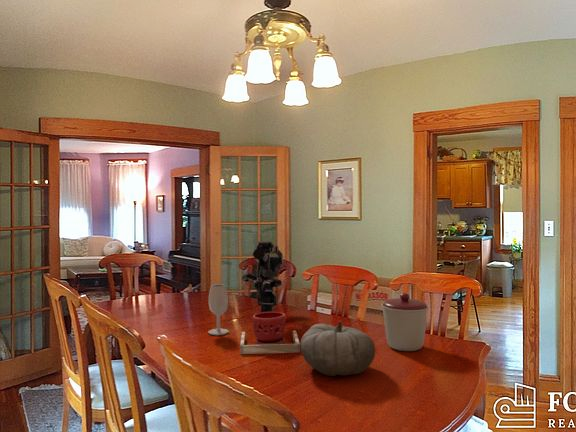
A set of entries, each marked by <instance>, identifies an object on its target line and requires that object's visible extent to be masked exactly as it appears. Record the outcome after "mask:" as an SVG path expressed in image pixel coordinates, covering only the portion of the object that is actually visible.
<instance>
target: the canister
mask: <svg viewBox="0 0 576 432" xmlns="http://www.w3.org/2000/svg"><path fill="white" fill-rule="evenodd" d="M380 306H381V308H382V311H383V315H382V316H383V323H384V330H385V337H386V342H387V345H388V346H389V347H390V348H392V349H393V350H397V351H400V352H416V351H418V350H420V349H422V347H423V345H424V343H425V342H424V341H425V335H426V329H427V318H428V310H429V309H430V305H429V304H427V303H426V302H424V301H422V300H420V299H415V298H414V299H413V298H410V295H409V293H406V292H401V294H400V295H399V298H390V299H387V300H386V299H385V301H383V302H381V304H380Z"/></svg>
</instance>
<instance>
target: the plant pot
mask: <svg viewBox="0 0 576 432" xmlns="http://www.w3.org/2000/svg"><path fill="white" fill-rule="evenodd" d="M252 327H253V332H254V335H255V337H256V339H255V343H256V345H263V344H285V343H284V342H285V341H286V340H285V338H284V337H283V336H284V334H285V330H286V314H285V313H284V312H280V311H274V312H262V313H261V312H258V313H255V314H253V315H252Z"/></svg>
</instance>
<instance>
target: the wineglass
mask: <svg viewBox="0 0 576 432" xmlns="http://www.w3.org/2000/svg"><path fill="white" fill-rule="evenodd" d="M207 299H208V302H207V303H208V307H209V311H210V312H212V314H213V315H215V316H216V328H213V329H211V330H208V331H207V333H208V334H209V335H211V336H222V335H223V336H225V335H227V334H230V331H229V329H227V328H222V327H221V316H222V315H223V314H224V313H226V312H227V310H228V307H229V306H228V305H229V296H228V290H227V287H226V285H225V284H224V283H222V284H221V283H214V284H211V285H210V288H209V291H208V298H207Z"/></svg>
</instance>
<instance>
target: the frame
mask: <svg viewBox="0 0 576 432" xmlns="http://www.w3.org/2000/svg"><path fill="white" fill-rule="evenodd" d="M240 338H241V339H240V343H239V344H240V345H239V354H240V355H256V354H257V355H258V354H260V355H261V354H262V355H263V354H287V353H288V354H290V353H294V354H295V353H301V342H300V341H299V337H298V333H297V331H296V330H292V338H293V339H292V340H293V343H283V344H263V345H258V344H245V343H246V331H241V337H240Z"/></svg>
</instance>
